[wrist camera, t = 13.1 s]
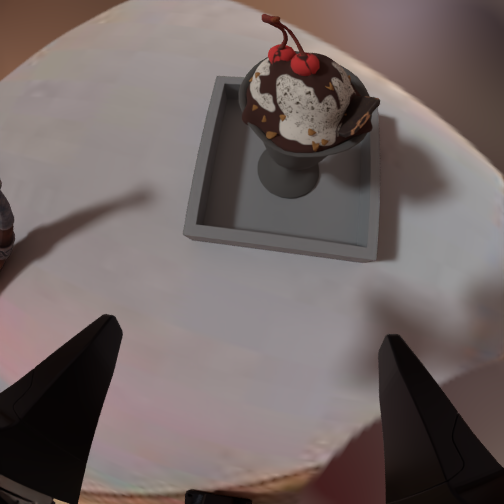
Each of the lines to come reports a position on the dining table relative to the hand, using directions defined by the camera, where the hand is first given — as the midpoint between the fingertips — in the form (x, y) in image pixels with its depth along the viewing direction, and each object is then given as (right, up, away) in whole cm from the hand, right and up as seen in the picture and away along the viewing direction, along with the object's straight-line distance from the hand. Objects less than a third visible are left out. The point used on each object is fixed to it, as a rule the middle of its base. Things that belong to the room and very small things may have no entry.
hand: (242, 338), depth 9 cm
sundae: (+3, +9, +14) cm, 17 cm away
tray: (+3, +9, +14) cm, 17 cm away
